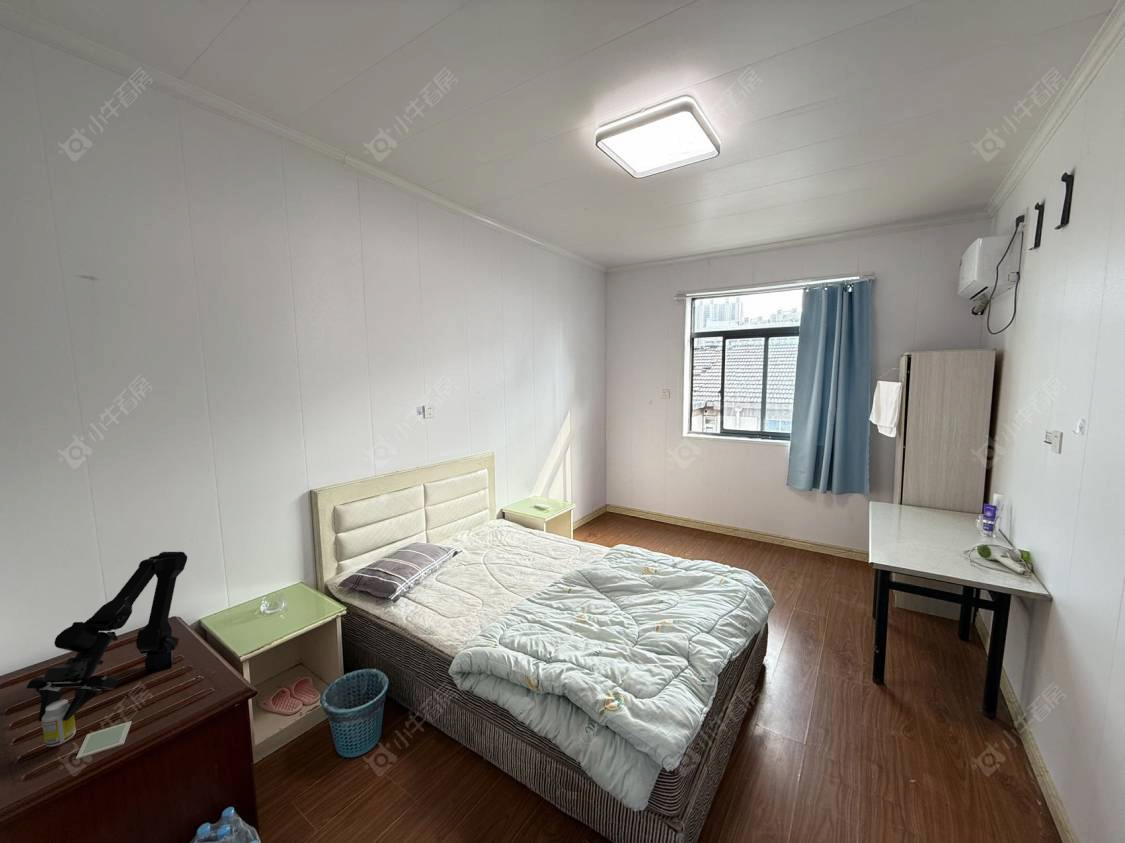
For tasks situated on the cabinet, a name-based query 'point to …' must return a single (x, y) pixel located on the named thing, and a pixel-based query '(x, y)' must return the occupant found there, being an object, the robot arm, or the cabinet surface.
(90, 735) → the card
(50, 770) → the cabinet surface
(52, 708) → the supplement bottle
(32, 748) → the cabinet surface
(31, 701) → the cabinet surface
